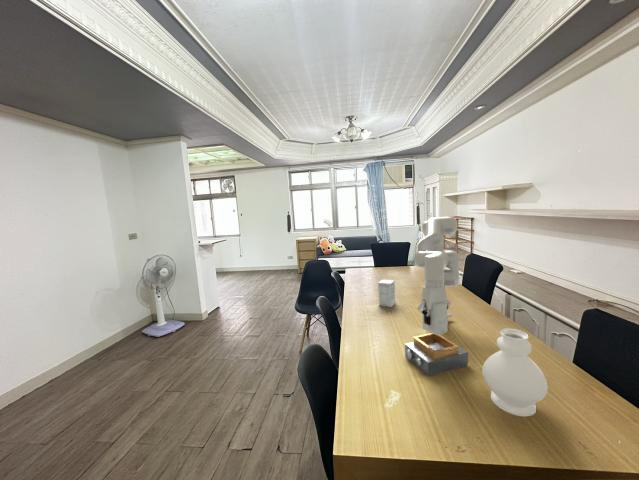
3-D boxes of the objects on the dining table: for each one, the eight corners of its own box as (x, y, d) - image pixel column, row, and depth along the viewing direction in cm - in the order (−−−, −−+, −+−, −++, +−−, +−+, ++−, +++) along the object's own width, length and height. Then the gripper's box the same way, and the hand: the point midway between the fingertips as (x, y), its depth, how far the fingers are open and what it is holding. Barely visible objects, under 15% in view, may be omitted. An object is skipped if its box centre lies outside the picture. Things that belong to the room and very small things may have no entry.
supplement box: (395, 303, 190) (395, 280, 188) (392, 307, 182) (391, 283, 180) (383, 301, 195) (382, 279, 193) (378, 305, 187) (377, 282, 185)
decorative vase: (551, 431, 79) (555, 352, 76) (481, 410, 88) (482, 340, 86) (541, 394, 94) (543, 327, 91) (482, 380, 103) (482, 318, 100)
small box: (447, 332, 114) (447, 303, 113) (437, 336, 111) (437, 306, 110) (432, 325, 121) (432, 297, 120) (422, 328, 119) (421, 300, 117)
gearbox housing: (441, 347, 128) (441, 329, 127) (468, 365, 113) (468, 345, 112) (403, 356, 123) (402, 338, 122) (425, 376, 107) (425, 356, 106)
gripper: (444, 278, 120) (445, 316, 122) (411, 283, 115) (412, 322, 117) (457, 282, 113) (457, 322, 115) (422, 288, 108) (423, 329, 110)
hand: (434, 322), depth 116 cm, fingers closed on small box, 7 cm apart
